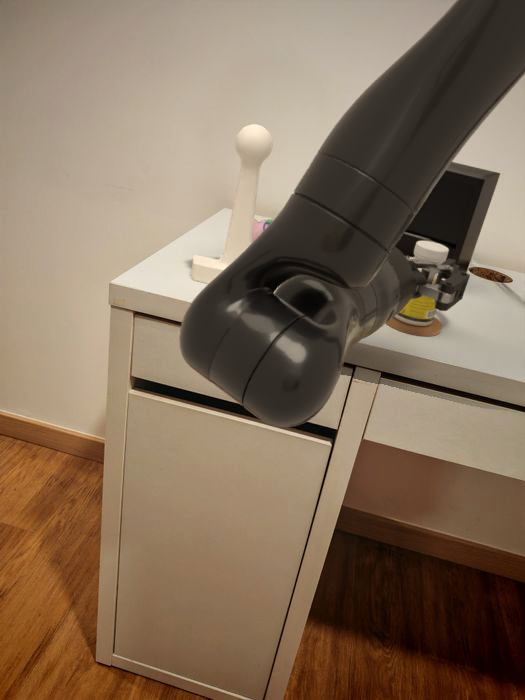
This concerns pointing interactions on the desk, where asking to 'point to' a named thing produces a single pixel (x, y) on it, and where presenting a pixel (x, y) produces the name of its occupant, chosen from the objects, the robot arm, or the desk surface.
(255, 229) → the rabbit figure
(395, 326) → the cork trivet
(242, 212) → the joystick
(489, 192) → the black open shelf
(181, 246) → the desk surface
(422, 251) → the supplement bottle
